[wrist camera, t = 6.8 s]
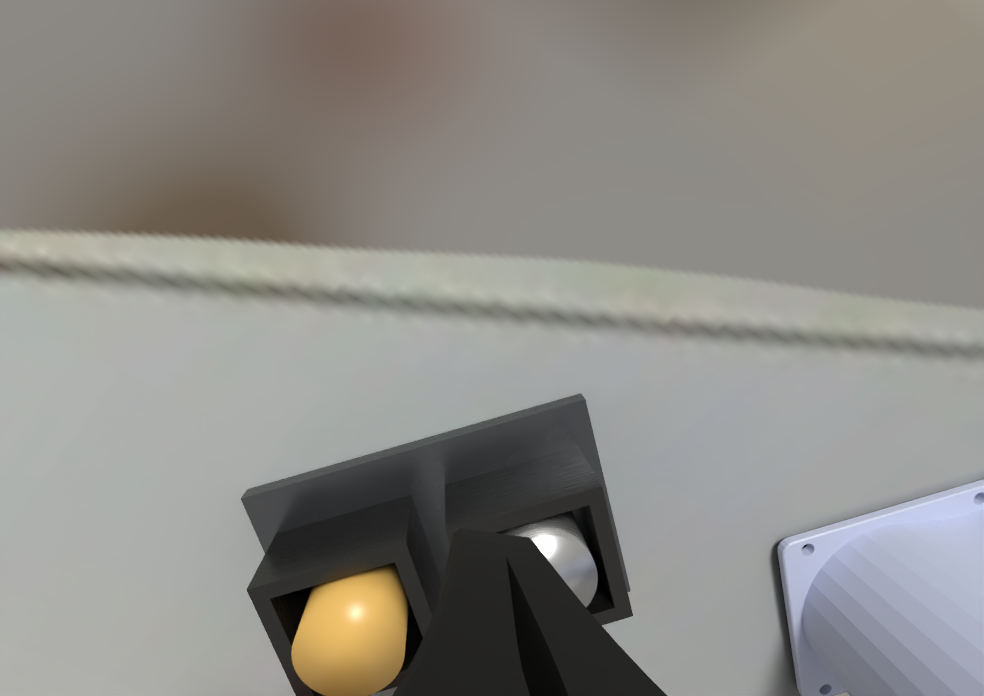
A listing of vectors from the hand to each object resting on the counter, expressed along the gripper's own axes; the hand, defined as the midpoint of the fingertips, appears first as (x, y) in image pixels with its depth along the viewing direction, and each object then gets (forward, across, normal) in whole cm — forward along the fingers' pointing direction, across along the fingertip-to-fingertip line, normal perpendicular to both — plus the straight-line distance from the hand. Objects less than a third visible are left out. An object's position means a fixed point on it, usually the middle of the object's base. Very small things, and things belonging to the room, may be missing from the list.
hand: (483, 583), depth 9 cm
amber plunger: (+8, +2, +7) cm, 11 cm away
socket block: (+9, 0, +5) cm, 11 cm away
